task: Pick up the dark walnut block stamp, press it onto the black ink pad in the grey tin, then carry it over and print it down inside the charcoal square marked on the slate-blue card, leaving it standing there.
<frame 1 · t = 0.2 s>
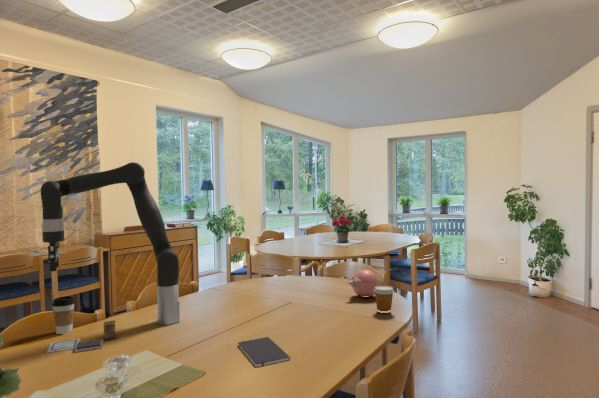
hand: (54, 269, 157), 29 cm above the table, fingers open, 8 cm apart
stamp: (109, 338, 158), on the table
inkpad: (89, 347, 148), on the table
notebook: (262, 354, 142), on the table
pink rounded piece: (362, 298, 213), on the table
disposable coffee cup: (384, 312, 187), on the table
coffee cup: (64, 332, 165), on the table
card: (64, 345, 150), on the table
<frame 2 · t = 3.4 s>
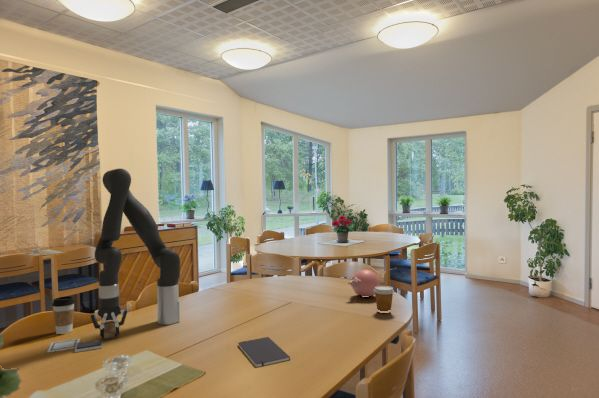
hand: (109, 336, 158), 1 cm above the table, fingers closed on stamp, 4 cm apart
stamp: (109, 338, 158), on the table, touching gripper
everything else where it was.
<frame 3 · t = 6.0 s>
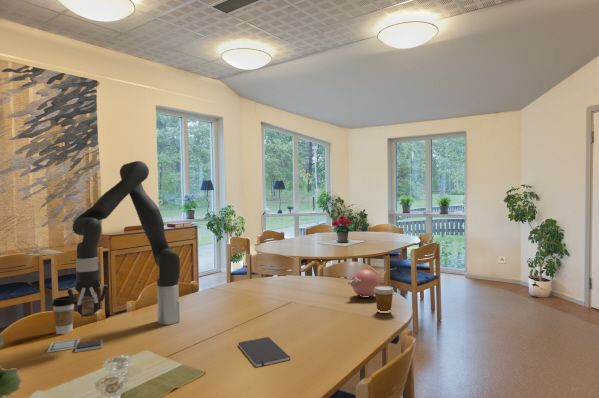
hand: (88, 312, 148), 13 cm above the table, fingers closed on stamp, 4 cm apart
stamp: (88, 314, 148), point 13 cm above the table, touching gripper
everything else where it was.
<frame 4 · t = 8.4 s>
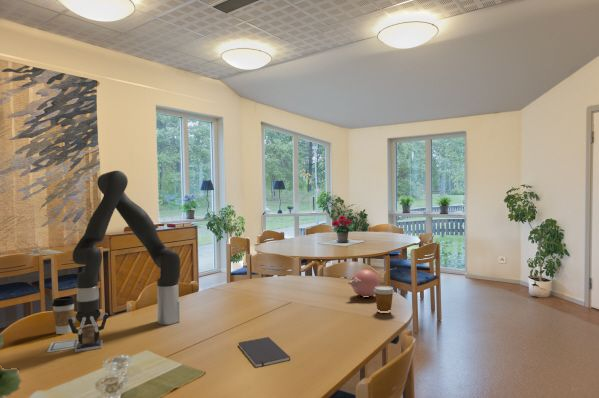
hand: (88, 341, 148), 2 cm above the table, fingers closed on stamp, 4 cm apart
stamp: (88, 343, 148), point 1 cm above the table, touching gripper, inkpad
everything else where it was.
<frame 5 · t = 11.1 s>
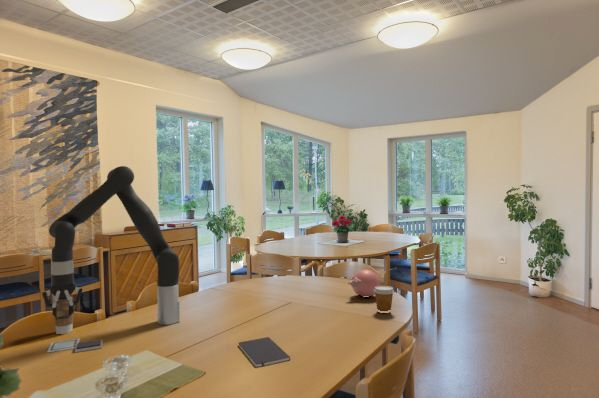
hand: (63, 315, 150), 12 cm above the table, fingers closed on stamp, 4 cm apart
stamp: (63, 317, 150), point 11 cm above the table, touching gripper
everything else where it was.
when the fingers open (1 cm above the table, at t = 13.3 s): stamp stays where it is, resting on card.
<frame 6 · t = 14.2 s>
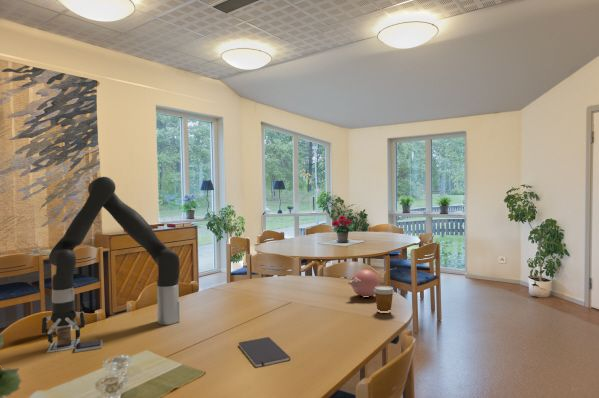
hand: (64, 340, 150), 2 cm above the table, fingers open, 8 cm apart
stamp: (64, 344, 150), resting on card
everything else where it was.
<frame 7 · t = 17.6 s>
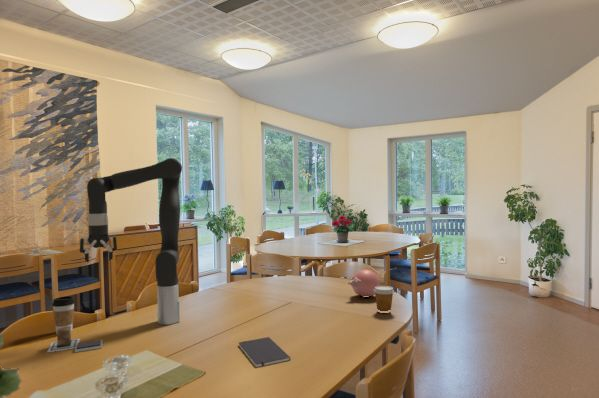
hand: (99, 261, 166), 30 cm above the table, fingers open, 8 cm apart
nothing on the table moved.
at the end: stamp inside the target area on the card (0.0 cm from its centre), point 0.3 cm above the card's base; stamp tilted 0°; the gripper is holding nothing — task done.
